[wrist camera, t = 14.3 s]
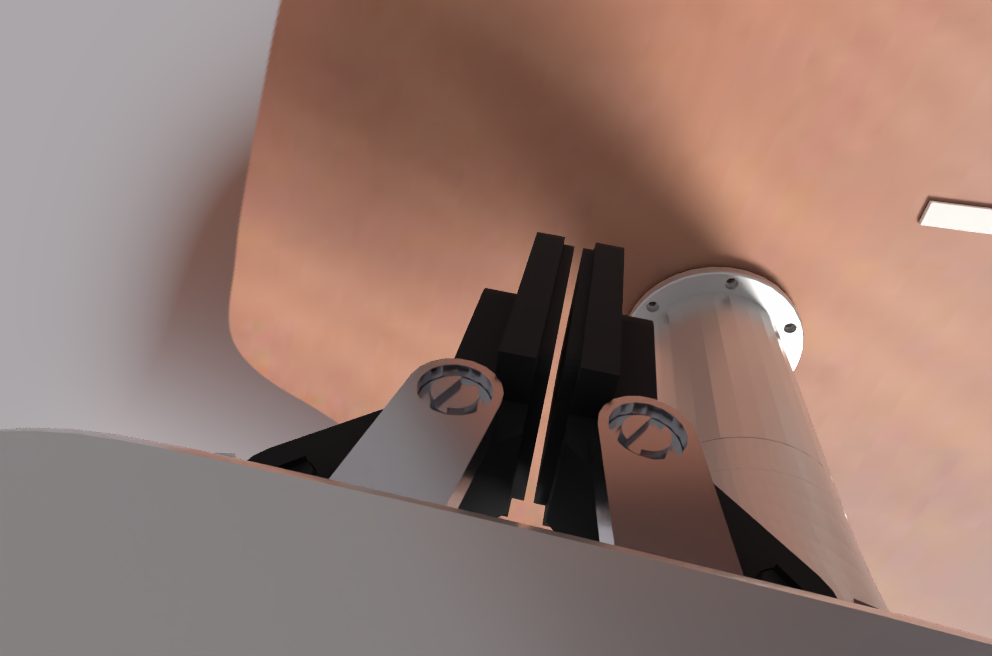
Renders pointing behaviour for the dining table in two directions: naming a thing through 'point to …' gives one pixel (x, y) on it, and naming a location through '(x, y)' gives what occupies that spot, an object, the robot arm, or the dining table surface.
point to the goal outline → (957, 217)
